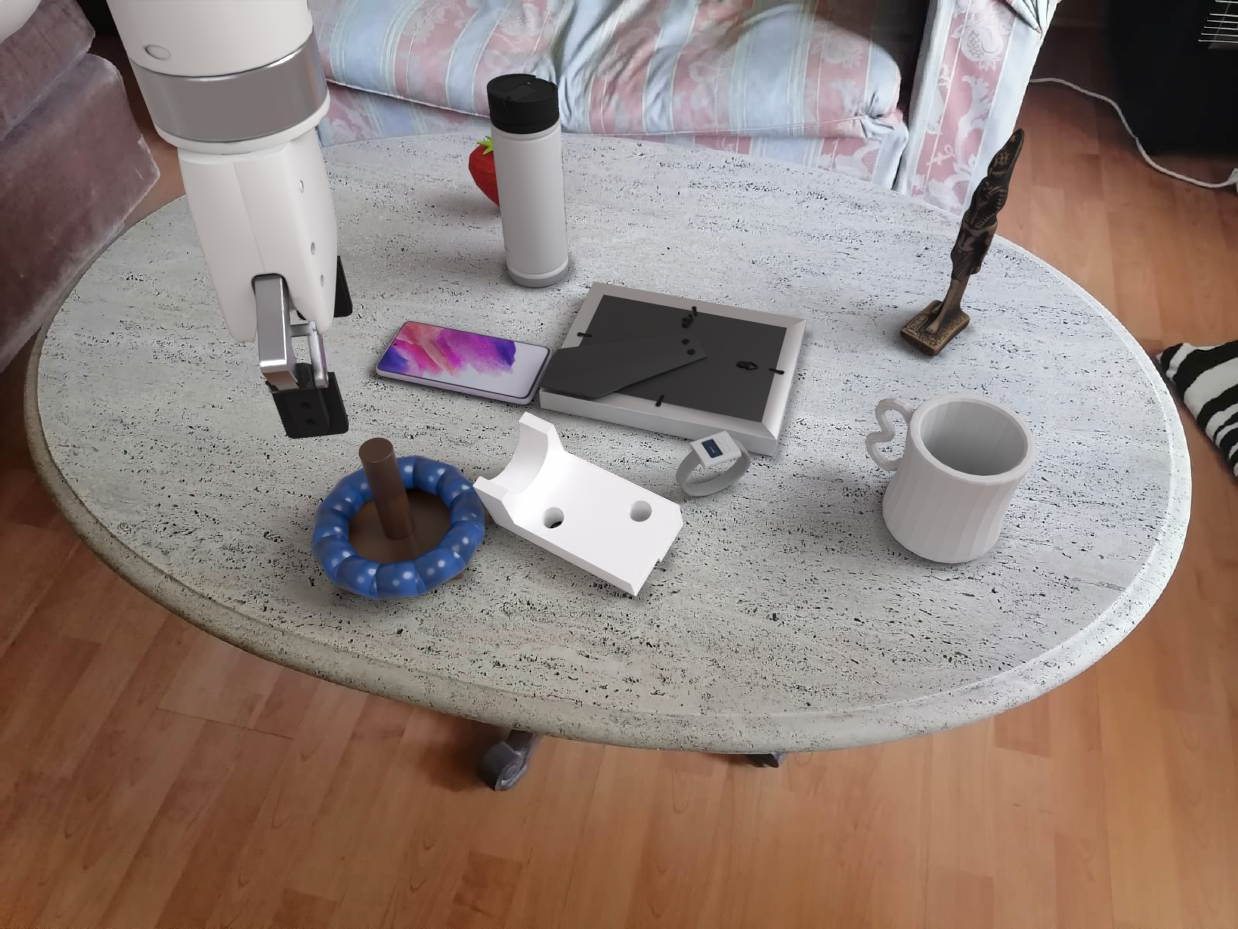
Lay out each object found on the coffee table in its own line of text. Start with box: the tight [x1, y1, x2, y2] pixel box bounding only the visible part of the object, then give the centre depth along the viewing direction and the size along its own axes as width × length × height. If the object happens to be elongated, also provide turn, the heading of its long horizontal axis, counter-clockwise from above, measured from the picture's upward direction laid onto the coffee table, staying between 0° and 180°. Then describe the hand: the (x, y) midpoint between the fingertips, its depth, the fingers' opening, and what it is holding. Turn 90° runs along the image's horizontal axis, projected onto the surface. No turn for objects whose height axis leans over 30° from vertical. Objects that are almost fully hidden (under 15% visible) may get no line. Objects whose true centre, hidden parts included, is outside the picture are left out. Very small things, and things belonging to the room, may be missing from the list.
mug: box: [864, 392, 1038, 564], centre depth 72 cm, size 12×9×10 cm
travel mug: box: [485, 72, 570, 288], centre depth 89 cm, size 6×7×20 cm
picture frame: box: [538, 281, 808, 457], centre depth 86 cm, size 16×3×21 cm
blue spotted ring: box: [311, 454, 486, 602], centre depth 72 cm, size 13×13×3 cm
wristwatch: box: [675, 431, 752, 497], centre depth 76 cm, size 6×3×5 cm, turn 114°
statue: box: [899, 127, 1026, 357], centre depth 82 cm, size 4×7×20 cm, turn 137°
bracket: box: [473, 411, 684, 597], centre depth 72 cm, size 13×7×8 cm, turn 58°
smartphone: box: [375, 320, 553, 405], centre depth 87 cm, size 7×1×15 cm
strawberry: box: [467, 135, 500, 209], centre depth 100 cm, size 6×8×10 cm
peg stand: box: [339, 436, 464, 595], centre depth 70 cm, size 9×9×10 cm
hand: (323, 370), depth 54 cm, fingers open, 9 cm apart
